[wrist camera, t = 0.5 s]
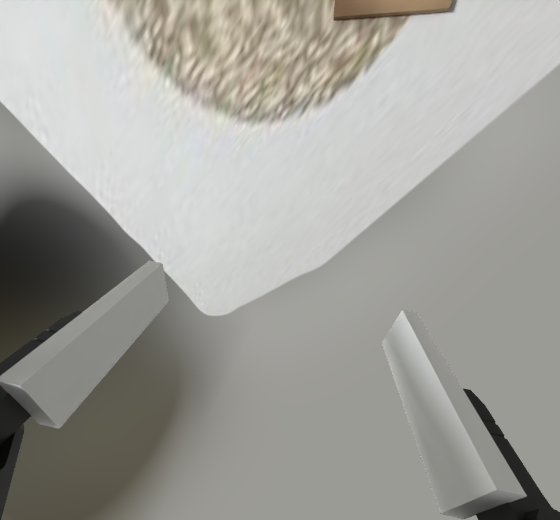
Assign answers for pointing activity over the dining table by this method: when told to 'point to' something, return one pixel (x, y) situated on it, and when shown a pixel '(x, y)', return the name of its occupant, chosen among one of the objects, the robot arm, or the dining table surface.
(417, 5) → the coaster
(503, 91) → the dining table surface
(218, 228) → the dining table surface
